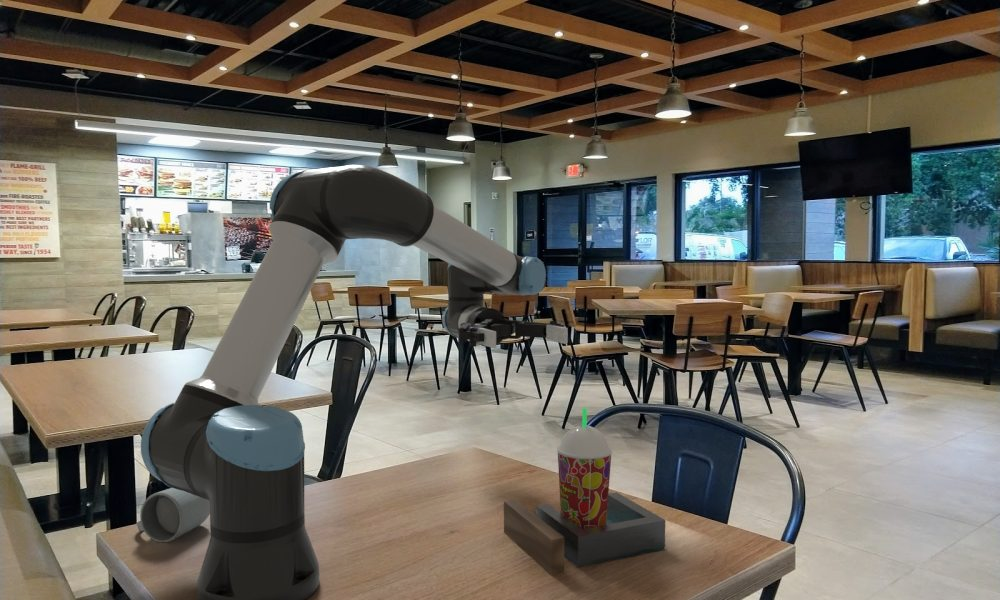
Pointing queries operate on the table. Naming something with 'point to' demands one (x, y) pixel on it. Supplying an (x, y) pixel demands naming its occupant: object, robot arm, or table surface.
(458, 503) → the table surface
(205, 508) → the ceramic mug
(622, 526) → the keyed cradle
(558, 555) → the walnut rail
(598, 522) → the smoothie
